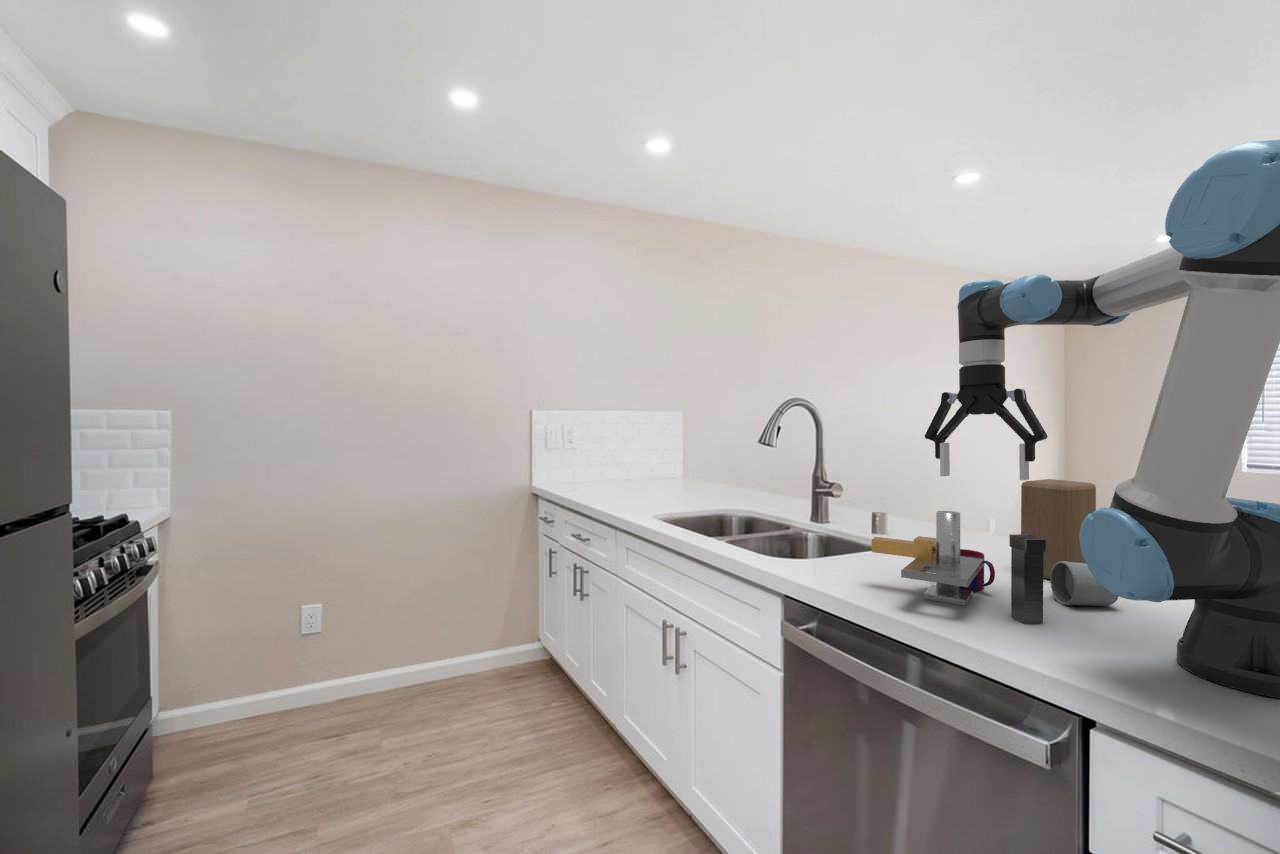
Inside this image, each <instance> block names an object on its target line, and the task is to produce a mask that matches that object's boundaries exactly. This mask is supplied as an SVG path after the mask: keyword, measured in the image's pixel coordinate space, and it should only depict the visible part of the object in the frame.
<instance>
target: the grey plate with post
mask: <svg viewBox="0 0 1280 854" xmlns="http://www.w3.org/2000/svg"><path fill="white" fill-rule="evenodd" d="M935 513H936V516H935V518H936V520H935V523H936V526H935V528H936V531H935V532H936V533H935V535H936V536H935V537H928V536H916V537H915V538H914V539H913V540H908V539H898V538H889V537H879V536H874V537H873V538H871V552H872V553H876V554H883V555H892V556H898V557H904V558H905V557H906V558H912V561H911V562H909V564H907V565H906V566H905V567H904V568H902V569H901V570H900V578H902V579H903V578H904V579H911V580H915V581H916V580H917V581H923V582H924V581H925V582H930V583H935V584H931V585H930V586H929V587H928V588H927V589H926V590H925V591H924V592H923V600H929V601H935V602H941V603H948V604H953V605H958V606H964V607H965V606H967V604H968V603H969V602H970V600H971V598H972V597H973V591H969V590H963V589H960V586H962V587H968V586H969V585H970V583H971V582H972V581H973V579H974V578H975V577H976V575H977V574H978V573H979V571H980V570H981V568H982V567H983V566H984V567H985V563H984V560H985V558H984V559H979V558H971V557H963V556H960V549H961V513H960V511H952V510H937V511H935Z"/></svg>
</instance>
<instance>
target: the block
mask: <svg viewBox="0 0 1280 854" xmlns="http://www.w3.org/2000/svg"><path fill="white" fill-rule="evenodd" d="M1020 488H1021V490H1020V493H1021V497H1020V499H1021V500H1020V501H1021V502H1020V503H1021V505H1020V506H1021V507H1020V512H1021V513H1020V514H1021V515H1020V534H1029V535H1032V536H1036V537H1039V538H1043V539H1046V552H1043V579H1045V578H1047V579H1046V580H1049V579H1050V575H1051V571H1052V568H1053V566H1054V565H1055V564H1056V563H1057V562H1060V561H1066V562H1075V563H1085V564H1087V563H1086V561H1085V560H1084V558H1083V555H1082V552H1081V548H1080V540H1079V538H1080V528H1081V525H1082V522H1083V521H1084V519H1085V517H1086V516H1087V515H1088V514H1090V513H1093V512H1094V511H1095V510H1097V507H1096V506H1097V502H1096V501H1097V487H1096V485H1095V484H1094V483H1093V482H1085V481H1074V480H1064V479H1055V478H1048V479H1037V480H1024V481H1022V483H1021V485H1020Z"/></svg>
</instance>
